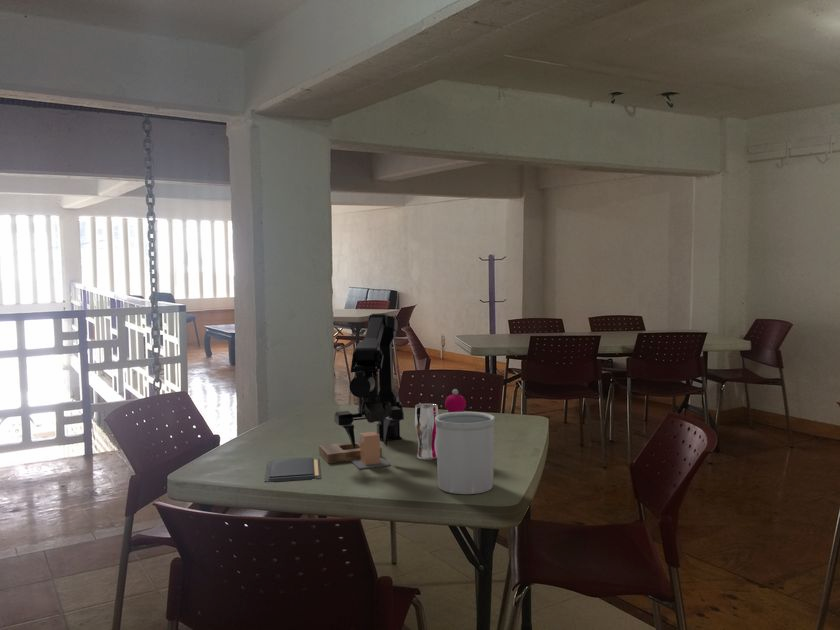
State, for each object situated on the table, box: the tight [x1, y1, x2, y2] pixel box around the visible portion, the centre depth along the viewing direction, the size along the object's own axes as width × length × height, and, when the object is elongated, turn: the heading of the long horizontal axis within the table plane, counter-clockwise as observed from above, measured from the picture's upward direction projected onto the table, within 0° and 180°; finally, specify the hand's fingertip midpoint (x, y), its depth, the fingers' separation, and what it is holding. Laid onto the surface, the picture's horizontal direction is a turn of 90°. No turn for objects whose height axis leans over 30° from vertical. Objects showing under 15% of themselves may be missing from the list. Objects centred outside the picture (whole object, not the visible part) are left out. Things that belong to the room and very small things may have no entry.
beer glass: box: [414, 403, 439, 461], centre depth 201 cm, size 7×7×15 cm
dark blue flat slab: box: [264, 457, 322, 483], centre depth 191 cm, size 20×2×15 cm
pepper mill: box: [444, 388, 467, 413], centre depth 198 cm, size 7×7×20 cm
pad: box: [350, 456, 391, 470], centre depth 196 cm, size 9×9×1 cm
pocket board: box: [318, 440, 383, 464], centre depth 204 cm, size 16×11×3 cm
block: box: [359, 431, 381, 465], centre depth 195 cm, size 4×4×8 cm
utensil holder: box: [435, 411, 496, 495], centre depth 173 cm, size 15×15×18 cm
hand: (369, 445), depth 195 cm, fingers open, 9 cm apart
